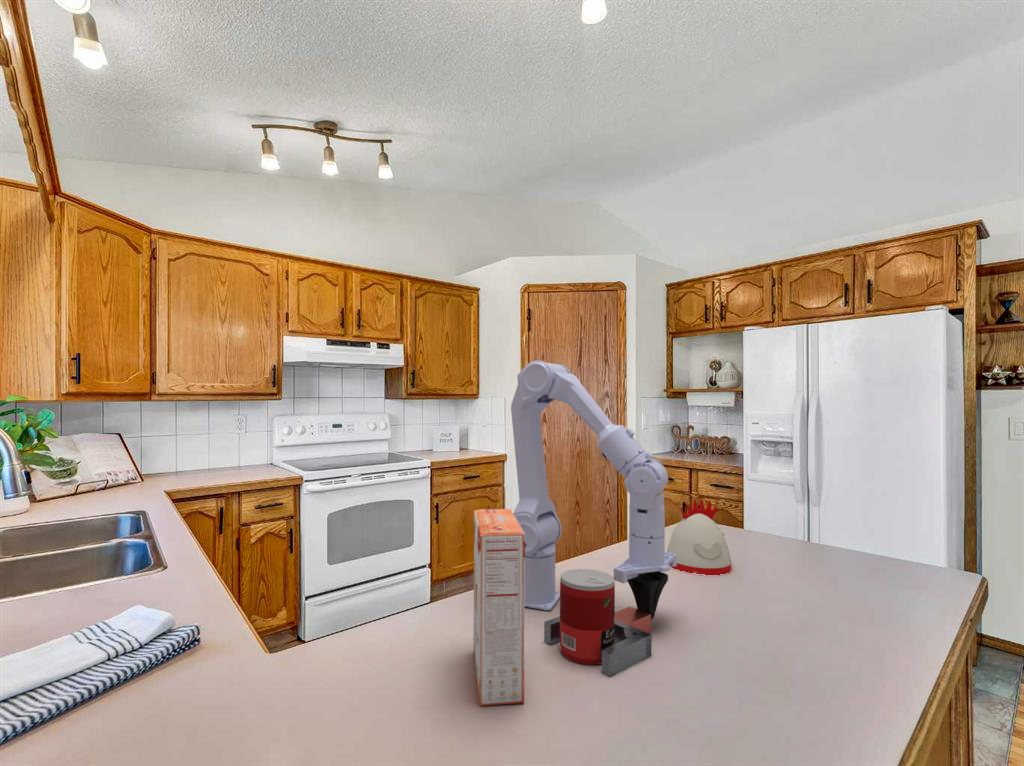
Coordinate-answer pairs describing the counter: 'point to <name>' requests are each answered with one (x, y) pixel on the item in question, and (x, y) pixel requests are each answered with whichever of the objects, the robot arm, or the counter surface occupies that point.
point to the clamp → (617, 639)
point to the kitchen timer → (700, 542)
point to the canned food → (586, 614)
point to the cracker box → (499, 606)
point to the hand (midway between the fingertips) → (646, 617)
